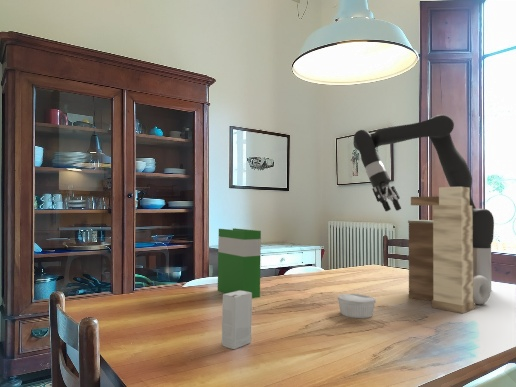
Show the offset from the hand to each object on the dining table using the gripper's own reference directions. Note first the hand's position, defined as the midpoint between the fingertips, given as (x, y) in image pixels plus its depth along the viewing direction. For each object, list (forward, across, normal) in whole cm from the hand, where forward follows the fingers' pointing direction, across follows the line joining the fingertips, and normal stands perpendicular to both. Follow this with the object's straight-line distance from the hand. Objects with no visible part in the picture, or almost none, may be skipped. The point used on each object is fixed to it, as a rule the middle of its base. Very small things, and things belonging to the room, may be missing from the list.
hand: (393, 210), depth 157 cm
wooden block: (+40, -11, -10) cm, 43 cm away
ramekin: (+32, -43, +4) cm, 54 cm away
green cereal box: (+12, -52, +45) cm, 70 cm away
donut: (+42, +1, -14) cm, 44 cm away
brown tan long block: (+7, -10, -20) cm, 24 cm away
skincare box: (+28, -88, +6) cm, 93 cm away
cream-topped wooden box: (+35, -1, +1) cm, 35 cm away
